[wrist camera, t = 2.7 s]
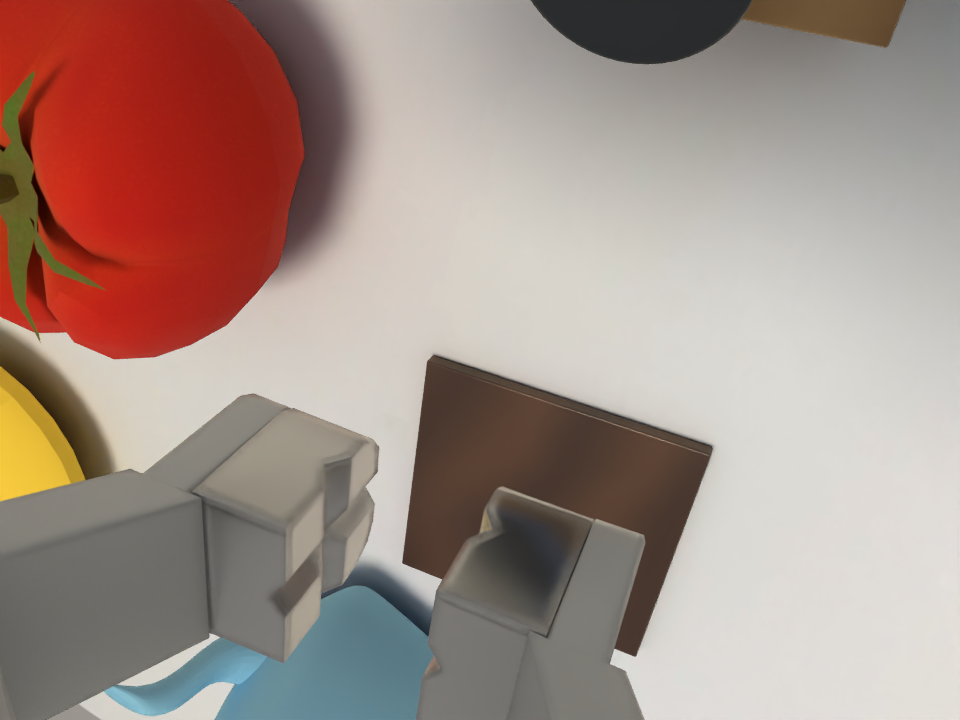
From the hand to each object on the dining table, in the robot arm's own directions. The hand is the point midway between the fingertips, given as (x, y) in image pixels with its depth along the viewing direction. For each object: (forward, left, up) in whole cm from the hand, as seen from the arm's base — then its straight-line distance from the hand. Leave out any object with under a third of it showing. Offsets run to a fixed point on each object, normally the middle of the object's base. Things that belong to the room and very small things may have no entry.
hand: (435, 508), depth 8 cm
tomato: (+19, +5, -21) cm, 29 cm away
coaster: (+2, +18, -21) cm, 28 cm away
